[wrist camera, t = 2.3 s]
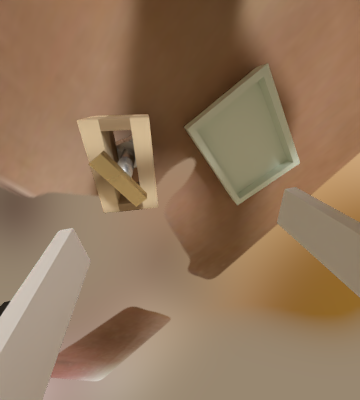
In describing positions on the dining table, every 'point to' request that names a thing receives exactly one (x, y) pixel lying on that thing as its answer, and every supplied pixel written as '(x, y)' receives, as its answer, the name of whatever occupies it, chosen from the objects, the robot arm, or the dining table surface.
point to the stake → (121, 170)
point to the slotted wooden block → (104, 140)
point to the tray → (246, 136)
